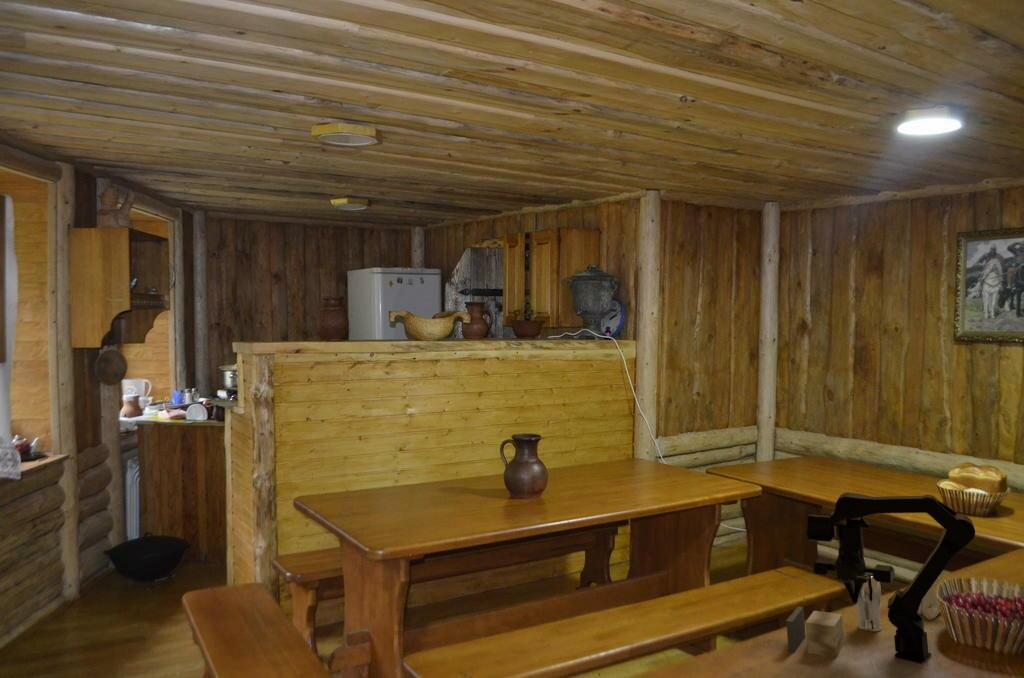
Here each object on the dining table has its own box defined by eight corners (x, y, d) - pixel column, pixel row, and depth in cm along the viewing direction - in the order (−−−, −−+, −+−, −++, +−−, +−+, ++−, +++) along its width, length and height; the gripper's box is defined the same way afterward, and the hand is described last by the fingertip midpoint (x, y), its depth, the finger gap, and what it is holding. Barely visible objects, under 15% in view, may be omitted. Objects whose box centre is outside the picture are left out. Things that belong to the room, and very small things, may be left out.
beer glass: (888, 627, 206) (884, 573, 207) (875, 634, 203) (870, 578, 203) (864, 621, 212) (860, 568, 213) (850, 627, 208) (846, 573, 209)
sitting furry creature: (902, 610, 219) (898, 569, 219) (923, 605, 222) (920, 564, 222) (930, 620, 210) (927, 577, 210) (952, 615, 213) (949, 572, 213)
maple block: (844, 644, 197) (841, 614, 198) (836, 658, 190) (834, 626, 190) (816, 640, 201) (814, 610, 202) (807, 653, 193) (805, 622, 194)
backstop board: (805, 636, 204) (803, 607, 204) (794, 652, 194) (792, 621, 194) (799, 635, 205) (797, 606, 205) (788, 651, 195) (786, 620, 195)
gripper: (804, 547, 193) (809, 607, 193) (883, 555, 182) (888, 619, 182) (816, 536, 202) (821, 593, 202) (892, 543, 191) (897, 604, 191)
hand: (855, 602), depth 194 cm, fingers closed
